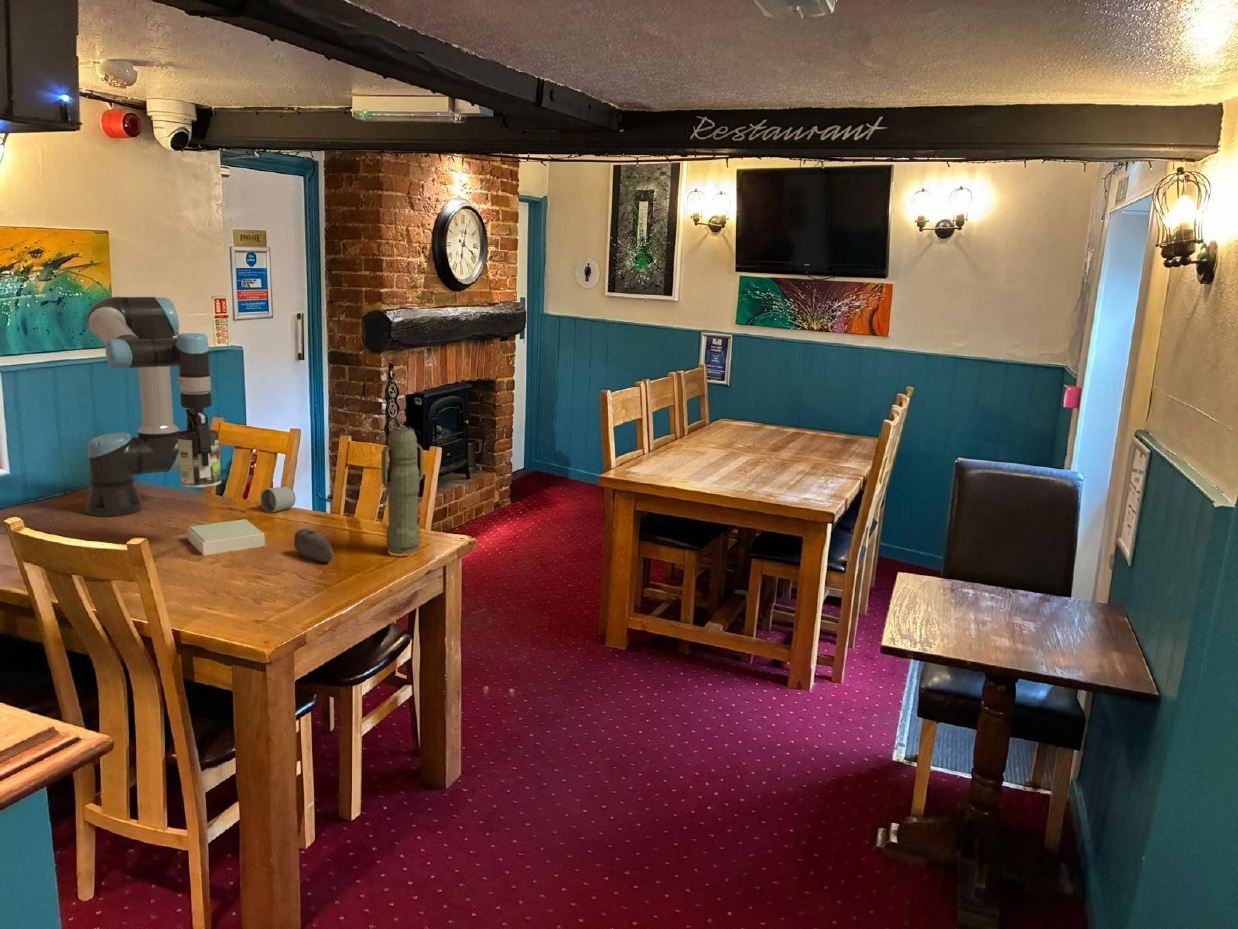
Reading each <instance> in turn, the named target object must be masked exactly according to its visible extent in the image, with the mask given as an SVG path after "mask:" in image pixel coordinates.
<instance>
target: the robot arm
mask: <svg viewBox="0 0 1238 929" xmlns="http://www.w3.org/2000/svg"><path fill="white" fill-rule="evenodd" d="M86 325H87V327H88V328H89V331H90V332H91V333H92V334H93V335H94V336H95V337H97V338H99V339H100V340H102V341H103V343H104V344H105V358H106V361H107V364H108V366H109V367H110V368H113V369H122V370H123V369H124V370H125V369H137V368H138V377H139V391H140V406H141V407H140V408H141V419H142V422H141V423H142V425H141V426H140V427H139V428H138V430H137V436H136V437H135V436H134V437H132V435H131V433H128V432H114V433H113V432H112V433H107V434H103V435H99V436H95V437H94V438H92V439H90V441H89V442H88V445H87V457H88V465H89V478H90V479H89V480H90V490H89V493H88V496H87V500H86V504H85V511H86V514H87V513H88V514H87V515H90V516H93V517H116V516H117V517H118V516H125V515H130V513H131V514H134V513H137V512H140V511H141V510H142V509H143V500H142V498H141V496H140V494H139V491H138V490H137V487H136V485H135V476H137V475H147V474H157V473H158V474H159V473H165V474H167V473H170V472H175V471H180V469H179V454H178V439H177V433H178V432H180V428H179V427H178V426H177V425H176V424H175V423H174V412H173V411H174V410H173V398H172V397H173V396H172V384H171V383H172V380H171V367H177V368H178V378H179V379H178V380H177V381H176V384H178V385H179V390H180V391H181V393H180V397H179V399H180V407H182V408H183V409H186V410H185V414H186V431H187V430H189V431H190V432H193V431H195V432H196V436H199V439H198V449H199V452H197V453H196V454H197V455H198V461H199V478H209V477H211V469H210V452H212V449H211V442H210V434H209V430H210V426H209V415H207V413H205V408H210V407H211V406H212V404H213V403H212V401H213V400H212V393H211V392H210V391H211V390H212V384H211V382H212V381H211V373H210V372H211V371H210V354H209V353H210V345H209V339H208V336H207V335H206V334H205V333H197V332H189V333H188V332H185V333H184V332H183V333H180V320H179V316H178V314H177V310H176V307H175V305H174V303H173V302H172V301H171V300H170V299H169V298H167V297H160V296H159V297H158V296H112V297H108V298H104V299H102V300H99V301H98V302H96V303H95V304H93V306H92V307H91V308H90V309H89V310H88V312H87V314H86ZM139 510H140V511H139Z"/></svg>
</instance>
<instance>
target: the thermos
mask: <svg viewBox="0 0 1238 929" xmlns="http://www.w3.org/2000/svg"><path fill="white" fill-rule="evenodd" d="M417 440H418V438H417V435H416V433H415V430H414V428H412V427H410V426H395V427H393V428H391V429H390V431H389V435H388V438H387V444H386V446H383V448H382V450H381V481H382V485H384V486H386V487H385V488H386V489H385V490H386V492H387V493H386V494H387V497H388V498H387V499H388V500H387V504H388V511H387V513H388V516H387V517H388V524H387V528H386V546H387V550H388V551H390V552H392V553H396V554H403V553H409V552H413V551H416V550H418V548H419V549H420V545H421V540H420V538H421V537H420V536H421V533H420V532H421V530H420V526H419V523H418V522H419V520H418V519H419V518H418V515H419V514H418V512H419V510H418V507H419V506H418V504H419V503H418V502H419V501H418V495H419V492H420V481H422V479H423V478H424V448H423V447H422V446H421V444H419V443H418V441H417Z"/></svg>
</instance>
